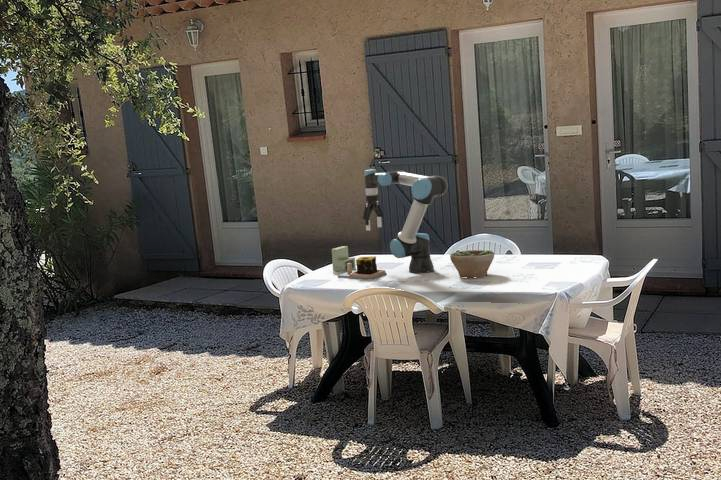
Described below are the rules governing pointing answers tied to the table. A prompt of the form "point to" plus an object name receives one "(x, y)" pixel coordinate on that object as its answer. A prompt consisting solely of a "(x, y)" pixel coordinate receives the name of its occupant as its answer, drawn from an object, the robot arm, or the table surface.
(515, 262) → the table surface
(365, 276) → the pin board
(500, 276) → the table surface
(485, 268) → the planter
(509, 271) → the table surface
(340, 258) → the feeder
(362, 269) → the candle
